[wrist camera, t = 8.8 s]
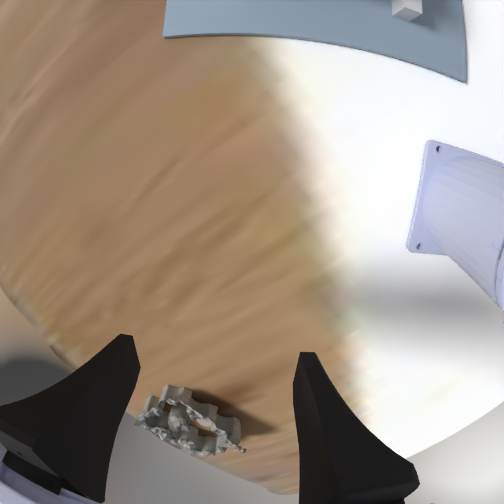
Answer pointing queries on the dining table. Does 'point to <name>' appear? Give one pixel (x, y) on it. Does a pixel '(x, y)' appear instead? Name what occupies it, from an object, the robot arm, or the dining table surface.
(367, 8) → the coupler cradle
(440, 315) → the dining table surface
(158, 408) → the egg carton
